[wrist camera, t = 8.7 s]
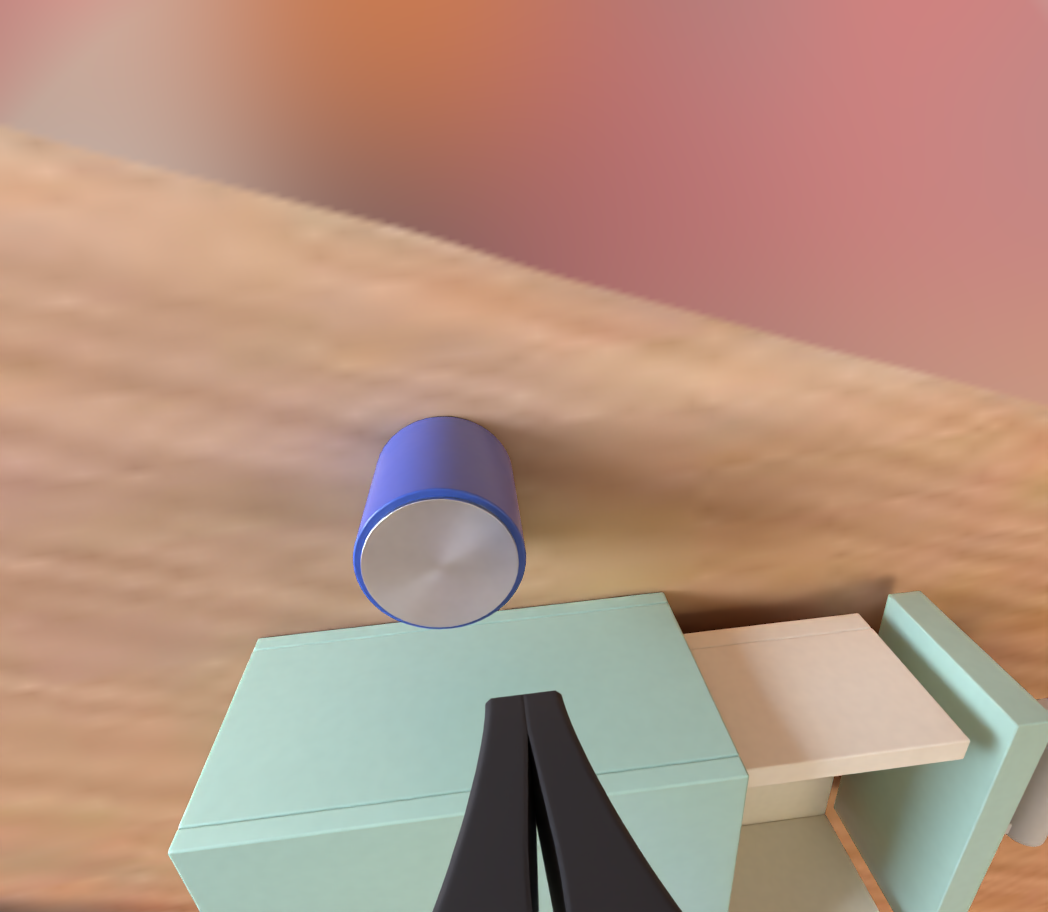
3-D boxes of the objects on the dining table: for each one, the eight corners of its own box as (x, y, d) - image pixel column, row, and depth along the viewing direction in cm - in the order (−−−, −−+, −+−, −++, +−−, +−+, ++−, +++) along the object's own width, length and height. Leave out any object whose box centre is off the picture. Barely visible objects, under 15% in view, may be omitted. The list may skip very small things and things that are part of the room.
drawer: (1046, 575, 22) (1221, 699, 17) (960, 789, 27) (1073, 932, 22) (550, 633, 21) (579, 783, 16) (563, 843, 26) (587, 1005, 21)
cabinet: (663, 591, 21) (750, 775, 15) (652, 821, 27) (711, 1025, 21) (257, 637, 21) (166, 853, 14) (336, 864, 27) (296, 1089, 20)
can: (535, 447, 18) (556, 527, 14) (479, 551, 20) (483, 652, 16) (406, 394, 17) (389, 465, 13) (356, 509, 19) (327, 605, 15)
